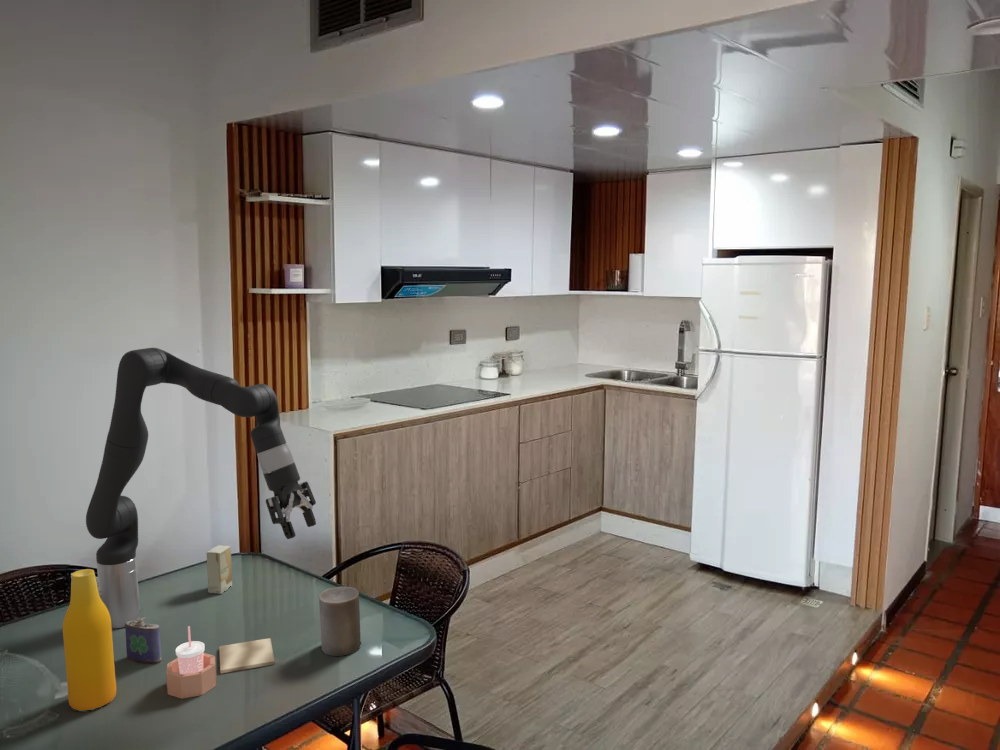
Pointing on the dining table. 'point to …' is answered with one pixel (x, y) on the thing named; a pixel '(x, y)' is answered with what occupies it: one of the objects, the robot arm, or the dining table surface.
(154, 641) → the flask
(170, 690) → the ceramic ring
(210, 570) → the skincare box
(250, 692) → the dining table surface
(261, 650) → the wooden coaster
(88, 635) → the beer bottle
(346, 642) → the pillar candle
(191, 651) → the beverage cup
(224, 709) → the dining table surface
